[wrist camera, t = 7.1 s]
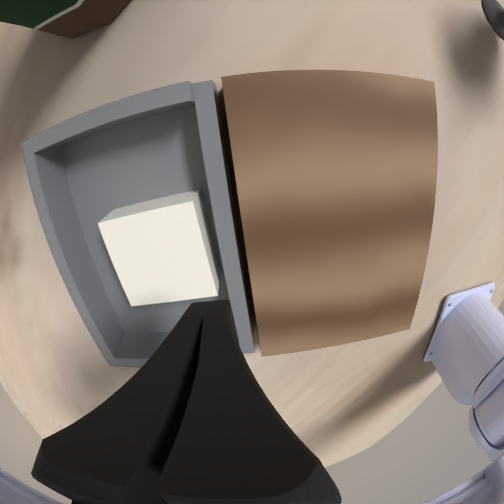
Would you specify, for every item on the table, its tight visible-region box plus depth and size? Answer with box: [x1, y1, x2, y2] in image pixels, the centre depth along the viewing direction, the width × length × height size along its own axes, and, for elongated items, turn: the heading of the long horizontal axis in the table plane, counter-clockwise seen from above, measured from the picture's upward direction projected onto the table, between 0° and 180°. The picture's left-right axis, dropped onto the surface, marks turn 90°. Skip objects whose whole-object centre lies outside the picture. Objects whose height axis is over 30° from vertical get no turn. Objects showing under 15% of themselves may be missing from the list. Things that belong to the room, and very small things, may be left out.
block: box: [98, 189, 220, 306], centre depth 17 cm, size 6×6×2 cm
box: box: [21, 80, 255, 367], centre depth 17 cm, size 18×12×4 cm, turn 7°
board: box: [221, 70, 438, 356], centre depth 16 cm, size 18×12×3 cm, turn 7°
